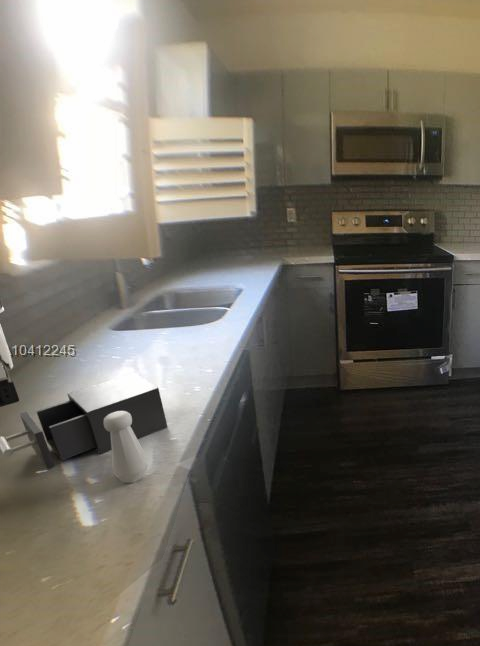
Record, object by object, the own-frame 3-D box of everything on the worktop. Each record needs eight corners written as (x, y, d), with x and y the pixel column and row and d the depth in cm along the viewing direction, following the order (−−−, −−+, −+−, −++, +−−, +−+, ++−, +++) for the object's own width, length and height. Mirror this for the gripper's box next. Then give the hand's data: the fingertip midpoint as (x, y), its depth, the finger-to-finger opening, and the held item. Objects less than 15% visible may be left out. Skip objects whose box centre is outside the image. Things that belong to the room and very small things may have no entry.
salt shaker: (137, 463, 88) (121, 404, 83) (157, 471, 85) (142, 410, 81) (108, 481, 83) (89, 419, 78) (129, 489, 81) (111, 426, 76)
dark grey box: (99, 454, 91) (87, 412, 88) (79, 432, 99) (67, 393, 96) (167, 427, 100) (158, 387, 97) (144, 409, 108) (135, 372, 105)
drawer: (15, 482, 82) (0, 445, 79) (2, 458, 89) (-12, 423, 86) (118, 441, 94) (109, 407, 91) (99, 422, 101) (90, 391, 98)
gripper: (-62, 303, 79) (-26, 398, 86) (-50, 319, 70) (-11, 424, 76) (-7, 294, 84) (23, 384, 91) (10, 309, 75) (43, 408, 81)
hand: (8, 402), depth 84 cm, fingers closed
